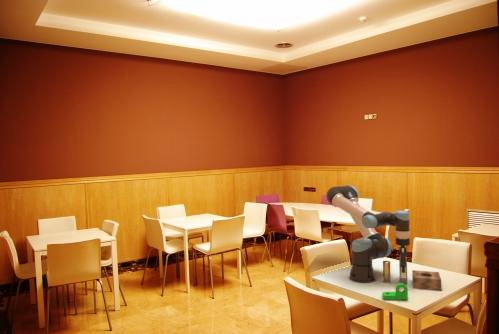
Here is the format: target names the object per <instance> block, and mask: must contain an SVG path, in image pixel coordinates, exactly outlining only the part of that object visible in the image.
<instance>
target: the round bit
mask: <svg viewBox="0 0 499 334" xmlns="http://www.w3.org/2000/svg"><path fill="white" fill-rule="evenodd" d="M382 274H383V276H382V278H383V279H382V281H383V283H385V284H390V283H391V278H392V277H391V261H390V260H383V261H382Z"/></svg>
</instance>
